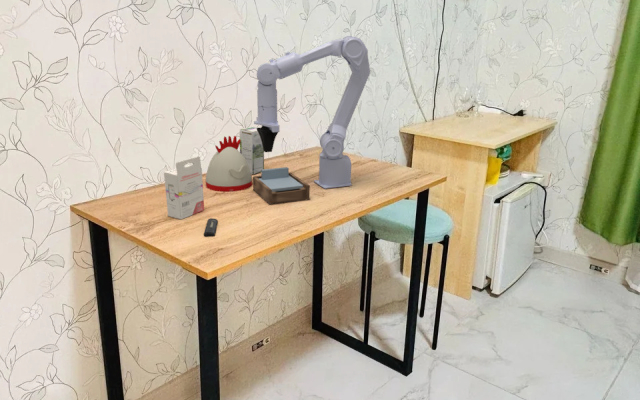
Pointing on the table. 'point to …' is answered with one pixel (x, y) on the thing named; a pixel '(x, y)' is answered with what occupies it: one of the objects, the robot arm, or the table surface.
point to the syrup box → (252, 149)
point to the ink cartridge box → (184, 189)
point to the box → (281, 192)
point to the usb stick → (211, 227)
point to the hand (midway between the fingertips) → (267, 151)
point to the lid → (279, 179)
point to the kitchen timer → (228, 168)
